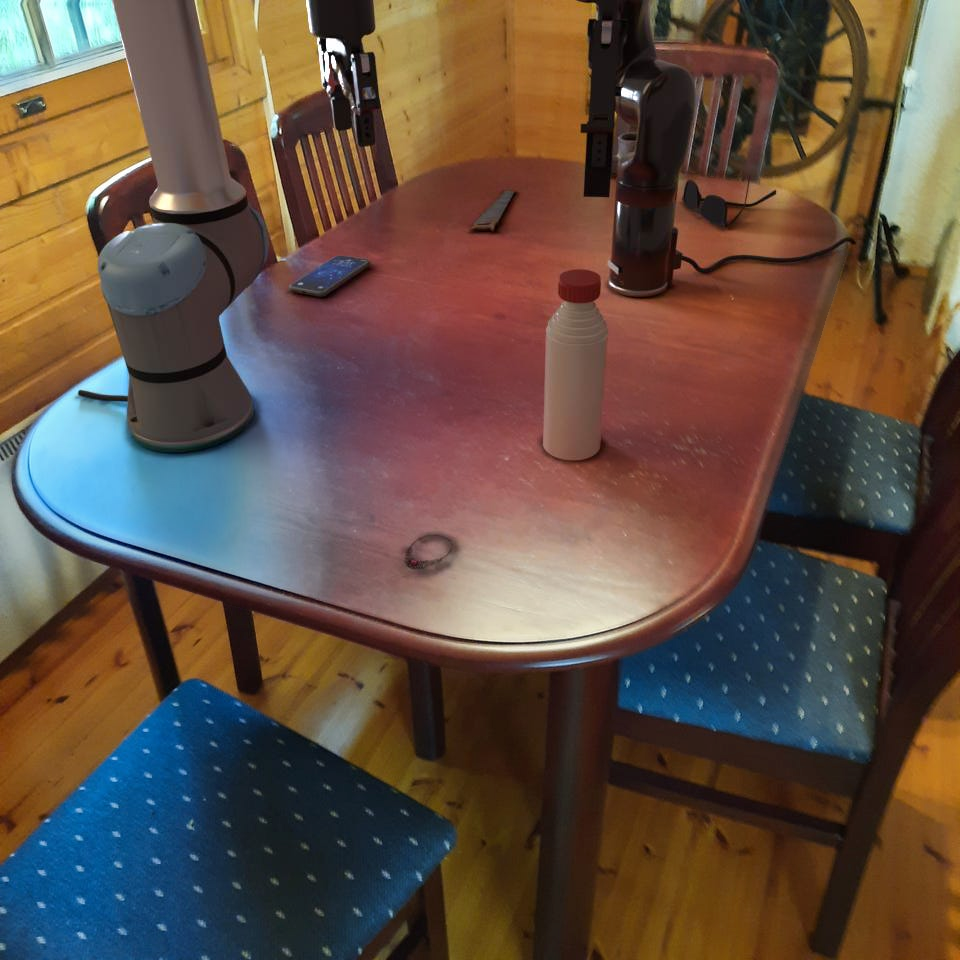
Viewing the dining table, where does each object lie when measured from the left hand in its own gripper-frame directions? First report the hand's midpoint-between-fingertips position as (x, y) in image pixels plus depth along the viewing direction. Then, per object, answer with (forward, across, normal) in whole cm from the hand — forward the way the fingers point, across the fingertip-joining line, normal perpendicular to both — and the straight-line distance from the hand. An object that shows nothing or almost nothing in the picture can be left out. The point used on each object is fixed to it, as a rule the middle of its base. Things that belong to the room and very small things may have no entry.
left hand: (598, 176), depth 95 cm
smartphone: (+28, +33, +44) cm, 61 cm away
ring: (+28, -34, +14) cm, 46 cm away
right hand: (-1, +9, +30) cm, 32 cm away
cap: (+7, -12, +1) cm, 14 cm away
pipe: (+28, +91, -4) cm, 95 cm away
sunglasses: (+28, +70, -25) cm, 80 cm away
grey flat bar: (+28, +67, +20) cm, 75 cm away
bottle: (+28, -12, +1) cm, 31 cm away
